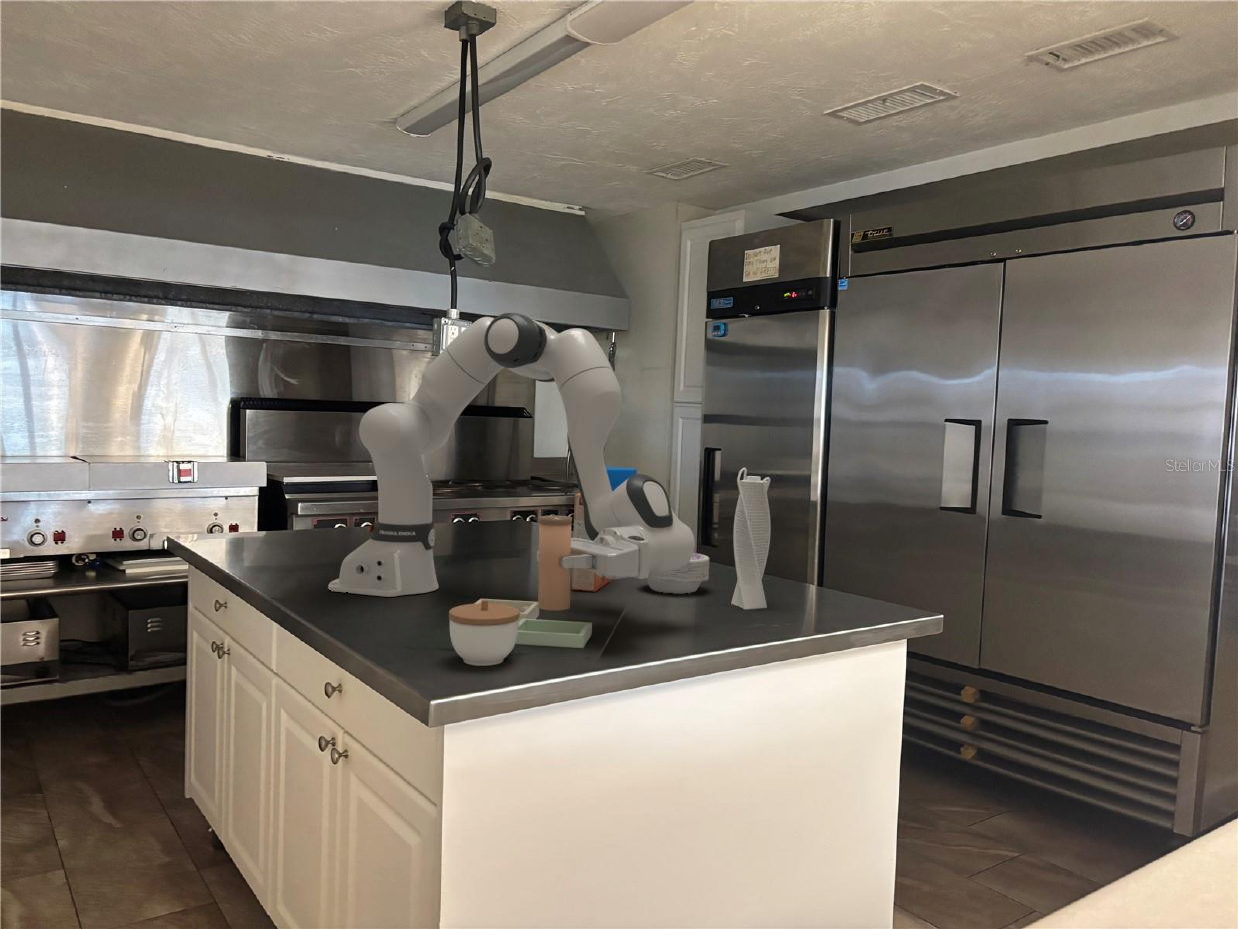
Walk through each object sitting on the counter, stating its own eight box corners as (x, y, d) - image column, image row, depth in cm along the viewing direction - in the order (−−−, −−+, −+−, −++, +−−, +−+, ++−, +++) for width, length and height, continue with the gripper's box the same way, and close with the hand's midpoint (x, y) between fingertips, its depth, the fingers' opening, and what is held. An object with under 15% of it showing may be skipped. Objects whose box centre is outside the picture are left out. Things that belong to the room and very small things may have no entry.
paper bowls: (712, 586, 204) (713, 551, 204) (703, 599, 189) (704, 562, 189) (646, 581, 207) (647, 547, 207) (632, 594, 193) (633, 557, 192)
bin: (400, 626, 159) (401, 606, 158) (420, 614, 168) (420, 595, 168) (526, 634, 156) (527, 614, 156) (538, 620, 166) (539, 602, 166)
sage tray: (509, 649, 145) (509, 631, 145) (521, 636, 154) (522, 618, 154) (582, 654, 144) (583, 635, 144) (591, 640, 153) (591, 622, 153)
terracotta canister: (534, 609, 147) (535, 518, 146) (541, 602, 152) (542, 515, 151) (567, 611, 146) (568, 520, 145) (572, 604, 151) (574, 516, 150)
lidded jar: (440, 654, 142) (441, 595, 141) (506, 648, 146) (507, 591, 146) (458, 673, 132) (459, 609, 131) (528, 666, 136) (529, 605, 136)
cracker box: (597, 593, 193) (600, 495, 192) (570, 590, 194) (572, 493, 193) (613, 581, 206) (616, 490, 205) (587, 579, 208) (590, 488, 207)
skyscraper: (722, 602, 187) (727, 467, 185) (754, 600, 190) (759, 467, 188) (742, 610, 179) (747, 469, 178) (774, 608, 182) (780, 470, 181)
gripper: (581, 527, 164) (516, 532, 156) (655, 542, 148) (586, 548, 140) (581, 562, 165) (516, 569, 156) (654, 580, 149) (586, 589, 140)
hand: (550, 559), depth 148 cm, fingers closed on terracotta canister, 5 cm apart
